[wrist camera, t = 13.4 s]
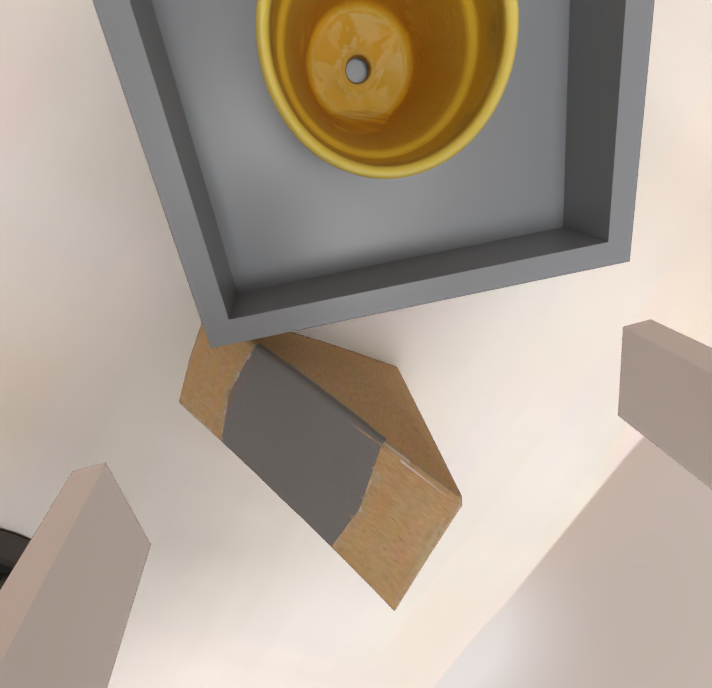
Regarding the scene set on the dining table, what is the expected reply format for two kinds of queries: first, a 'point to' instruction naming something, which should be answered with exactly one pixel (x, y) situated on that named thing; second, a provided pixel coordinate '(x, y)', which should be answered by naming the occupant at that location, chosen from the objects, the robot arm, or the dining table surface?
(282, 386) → the sandwich container
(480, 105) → the plant pot
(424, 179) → the crate
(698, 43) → the dining table surface
